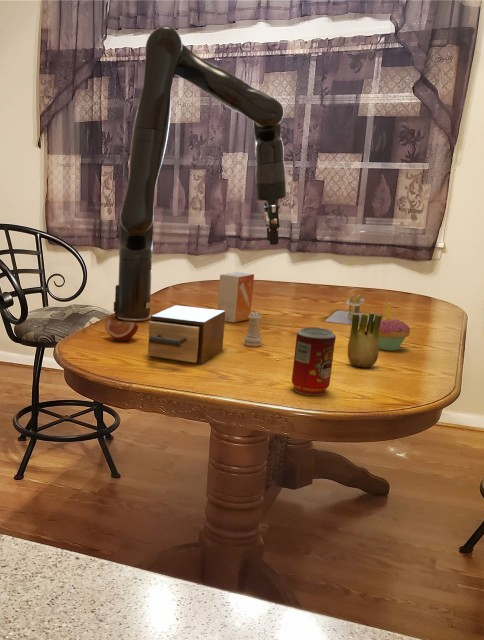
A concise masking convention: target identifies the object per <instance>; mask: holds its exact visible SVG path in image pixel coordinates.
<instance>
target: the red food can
mask: <svg viewBox="0 0 484 640" xmlns="http://www.w3.org/2000/svg"><path fill="white" fill-rule="evenodd" d="M335 344H336V335H335V333H334V332H333V330H330V329H329V328H321V327H316V326H315V327H313V326H307V327H303V328H301V329H299V330H298V331H297V332H296V339H295V347H294V356H293V364H292V365H293V366H292V375H291V383H292V385H293V388H294V389H293V390H294V391H295V392H296V393H298V394H301V395H306V396H321V395H324V394H325V393H326V390H327V389H328V388H329V386H330V384H331V377H332V376H331V375H332V367H333V361H334V353H335Z"/></svg>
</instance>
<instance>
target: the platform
mask: <svg viewBox="0 0 484 640" xmlns="http://www.w3.org/2000/svg"><path fill="white" fill-rule="evenodd" d="M365 301H366V299H365V298H361V294H359V295H358V296H356V297H355V293H353V294H352V295H351V296H350V297H349V299H347V300H346V301H345V305H347V306H348V307H349V308H348V311H346V310H336V311H335V312H333V314H331V315H330V316H329V317H327V319H325V322H326V323H334V324H336V323H337V324H343V325H352V317H353V314H355V313H357V314H359V322H358V326H360V322H361V317H362V314H364V313H365V312H360V309H361V305H362V304H363V303H364V302H365ZM367 314H368V319H369V313H367ZM376 314H377V313H374V319H375V315H376ZM368 319H367V324H368ZM374 319H373V321H374ZM367 324H366V327H367Z"/></svg>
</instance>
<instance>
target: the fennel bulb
mask: <svg viewBox="0 0 484 640" xmlns="http://www.w3.org/2000/svg"><path fill="white" fill-rule="evenodd" d="M363 313H364V314H362V317H361V322H360V325H358V322H359V314H357V313H355V314H353V317H352V324H351V328H350V333H349V337H348V338H349V339H348V344H347V358H348V362H349V364H351V365H353V366H355V367H358V368H364V369H366V368H367V369H368V368H371V367H373V366H374V365H375V364H376V363H377V361H378V357H379V353H380V349H379V328H380V324H381V320H382V319H383V315H382V314H378V313H374V312H372V311H371V312H370V311H369V313H366V312H363ZM368 314H369V319H368ZM374 314H376V315H375V319H374ZM367 319H368V324H367ZM373 319H374V321H373ZM366 324H367V326H366Z"/></svg>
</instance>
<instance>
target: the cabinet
mask: <svg viewBox="0 0 484 640" xmlns="http://www.w3.org/2000/svg"><path fill="white" fill-rule="evenodd" d="M158 320H160V321H168V322H176V323H185V324H193V325H201V326H200V339H199V355H198V358H197V362H196V363H194V362H188V361H181V360H175V359H168V358H161V357H155V356H148V357H149V358H155V359H162V360H169V361H174V362H175V361H176V362H180V363H189V364H194V365H195V364H196V365H203V364H205V363H206V362H207V361H209V360H210V359H211V358H213V357H214V356H216V355H217V354H219V353H220V352H221V351H223V348H224V347H223V346H224V335H225V333H224V332H225V322H226V321H225V311H223V310H218V309H214V308H204V307H195V306H184V305H175V304H174V305H172V306H171V307H168V308H165V309H164V310H161V311H159V312H157V313H155V314H152V315H150V321H155V322H157V321H158Z"/></svg>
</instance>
